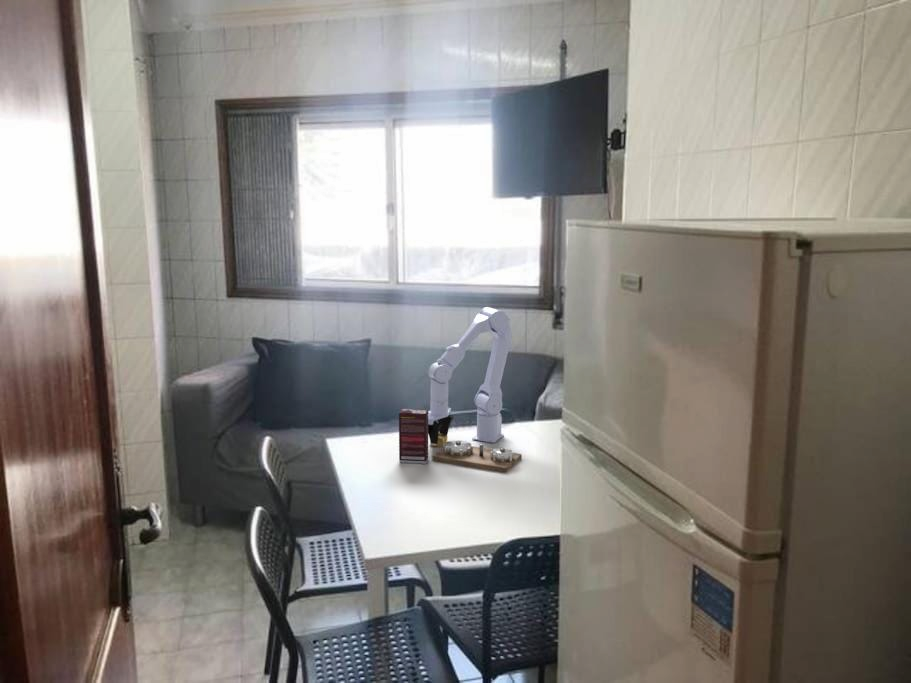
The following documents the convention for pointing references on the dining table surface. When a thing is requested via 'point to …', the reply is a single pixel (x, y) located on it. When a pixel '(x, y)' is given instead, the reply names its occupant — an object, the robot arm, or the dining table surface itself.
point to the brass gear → (440, 440)
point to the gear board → (477, 456)
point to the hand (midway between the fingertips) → (438, 440)
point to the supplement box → (413, 436)
